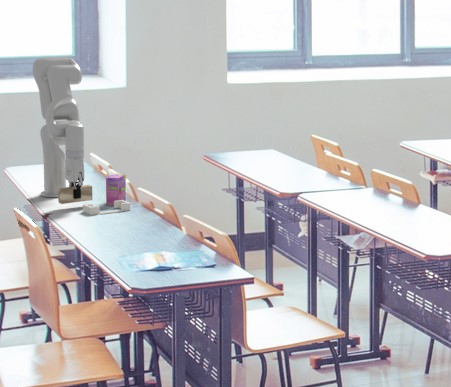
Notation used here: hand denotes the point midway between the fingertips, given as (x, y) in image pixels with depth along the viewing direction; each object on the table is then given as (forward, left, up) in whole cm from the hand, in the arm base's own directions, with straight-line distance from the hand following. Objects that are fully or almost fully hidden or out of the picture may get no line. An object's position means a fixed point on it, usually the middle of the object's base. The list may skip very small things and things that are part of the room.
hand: (75, 197), depth 421 cm
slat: (0, 0, -2) cm, 2 cm away
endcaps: (+13, +8, -4) cm, 16 cm away
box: (0, +19, -5) cm, 19 cm away
